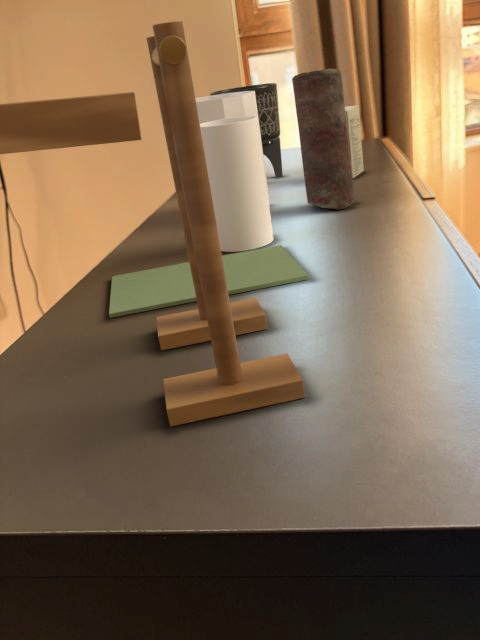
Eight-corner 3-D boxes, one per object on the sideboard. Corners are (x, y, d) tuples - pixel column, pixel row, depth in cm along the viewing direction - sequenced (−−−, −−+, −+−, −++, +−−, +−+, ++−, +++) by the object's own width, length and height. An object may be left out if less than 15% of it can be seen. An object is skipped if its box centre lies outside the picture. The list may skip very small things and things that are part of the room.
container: (204, 203, 117) (185, 98, 109) (279, 197, 112) (266, 88, 105) (173, 225, 104) (150, 108, 97) (257, 219, 100) (239, 96, 92)
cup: (202, 250, 88) (180, 128, 81) (238, 233, 94) (220, 118, 87) (250, 253, 83) (231, 124, 76) (285, 235, 89) (269, 114, 82)
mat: (112, 280, 81) (111, 276, 81) (281, 248, 83) (281, 244, 83) (109, 318, 68) (108, 313, 68) (308, 279, 71) (308, 275, 70)
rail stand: (159, 331, 63) (95, 46, 52) (258, 311, 64) (215, 29, 53) (170, 427, 46) (79, 32, 35) (305, 397, 47) (257, 7, 36)
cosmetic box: (343, 172, 126) (338, 106, 120) (364, 171, 123) (360, 104, 118) (331, 180, 121) (325, 111, 115) (352, 179, 118) (347, 109, 113)
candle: (302, 214, 99) (286, 74, 91) (311, 202, 105) (297, 71, 97) (351, 210, 97) (339, 67, 88) (358, 199, 103) (347, 64, 95)
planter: (273, 171, 137) (262, 83, 130) (297, 178, 126) (286, 82, 119) (216, 183, 134) (202, 93, 127) (236, 191, 123) (221, 93, 115)
